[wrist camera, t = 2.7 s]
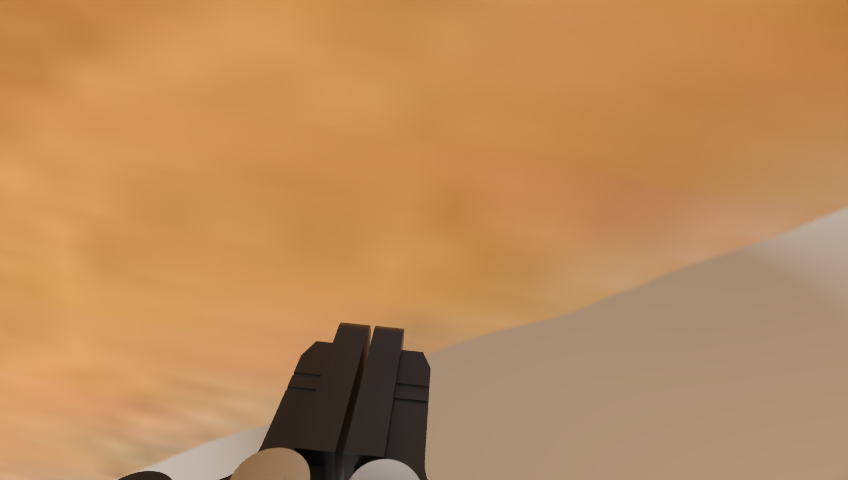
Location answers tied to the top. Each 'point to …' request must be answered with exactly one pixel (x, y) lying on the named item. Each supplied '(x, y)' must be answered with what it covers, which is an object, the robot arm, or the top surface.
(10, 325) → the top surface
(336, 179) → the top surface
